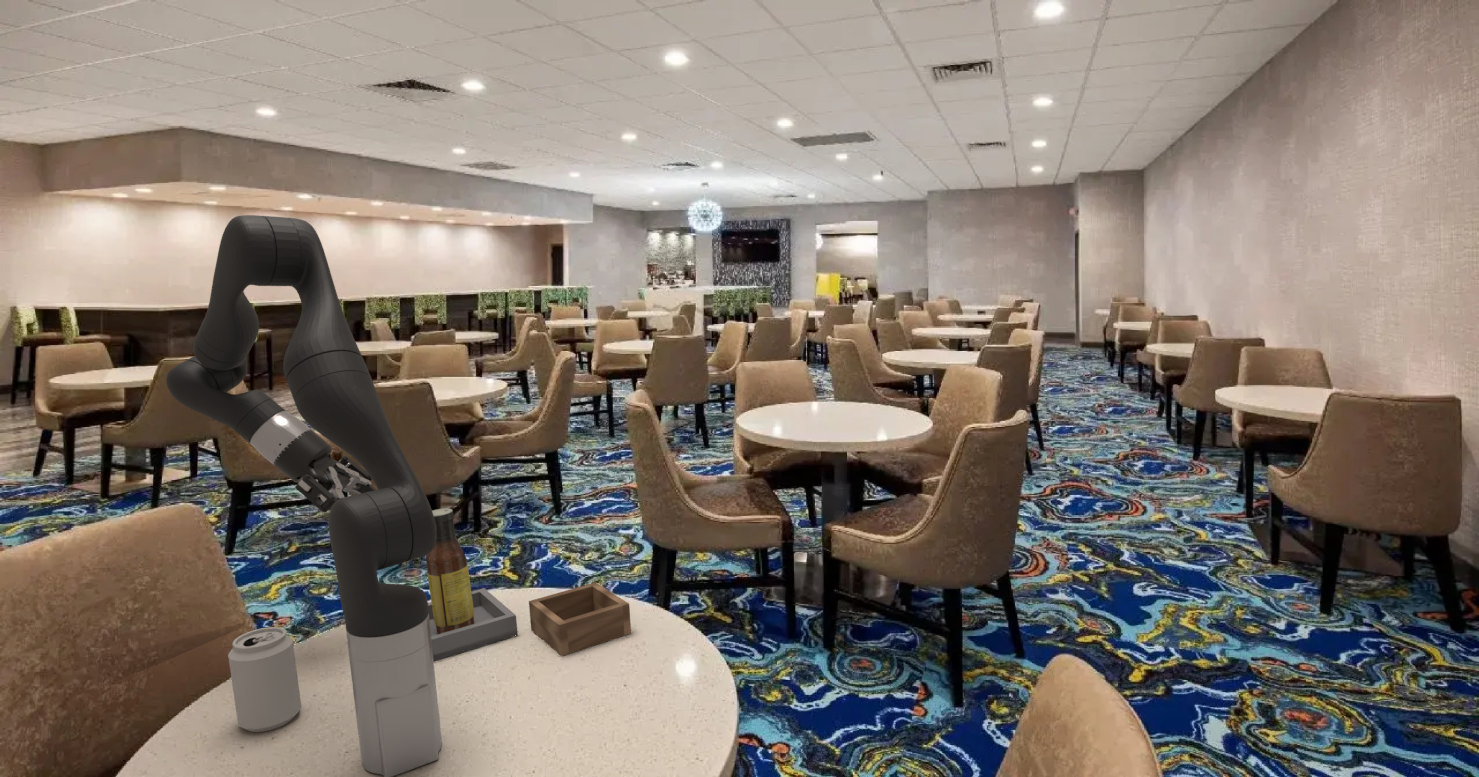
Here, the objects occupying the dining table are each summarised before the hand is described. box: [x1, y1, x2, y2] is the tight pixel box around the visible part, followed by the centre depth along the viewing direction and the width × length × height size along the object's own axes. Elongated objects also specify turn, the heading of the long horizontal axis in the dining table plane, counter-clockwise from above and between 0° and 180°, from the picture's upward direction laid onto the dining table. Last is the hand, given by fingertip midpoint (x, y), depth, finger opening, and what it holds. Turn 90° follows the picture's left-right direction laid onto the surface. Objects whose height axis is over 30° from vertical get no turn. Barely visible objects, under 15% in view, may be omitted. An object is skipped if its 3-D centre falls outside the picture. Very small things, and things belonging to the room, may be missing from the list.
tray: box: [428, 587, 519, 662], centre depth 135 cm, size 15×15×4 cm
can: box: [227, 626, 302, 733], centre depth 110 cm, size 8×8×12 cm
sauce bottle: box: [425, 507, 474, 634], centre depth 133 cm, size 7×6×20 cm
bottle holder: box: [528, 582, 632, 657], centre depth 133 cm, size 12×12×5 cm
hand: (372, 512), depth 131 cm, fingers open, 8 cm apart
